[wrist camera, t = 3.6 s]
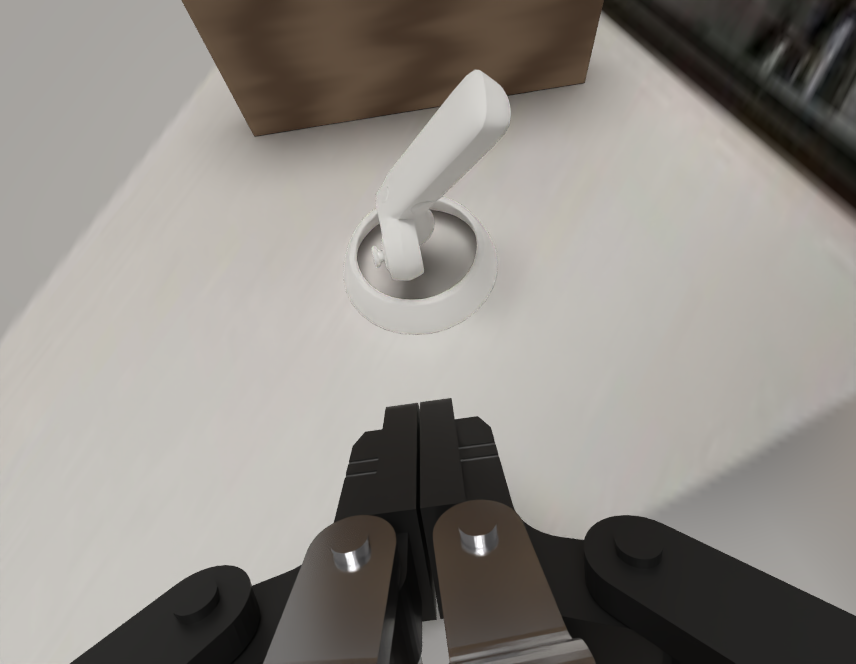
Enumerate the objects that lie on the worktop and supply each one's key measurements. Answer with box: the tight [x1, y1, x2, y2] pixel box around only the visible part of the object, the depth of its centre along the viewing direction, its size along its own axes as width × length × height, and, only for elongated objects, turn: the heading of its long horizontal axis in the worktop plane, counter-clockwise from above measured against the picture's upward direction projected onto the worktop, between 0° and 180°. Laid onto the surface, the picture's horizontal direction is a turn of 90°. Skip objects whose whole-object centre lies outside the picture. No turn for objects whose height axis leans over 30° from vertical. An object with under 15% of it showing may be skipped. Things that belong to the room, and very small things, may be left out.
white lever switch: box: [343, 70, 511, 335], centre depth 20 cm, size 8×12×7 cm
